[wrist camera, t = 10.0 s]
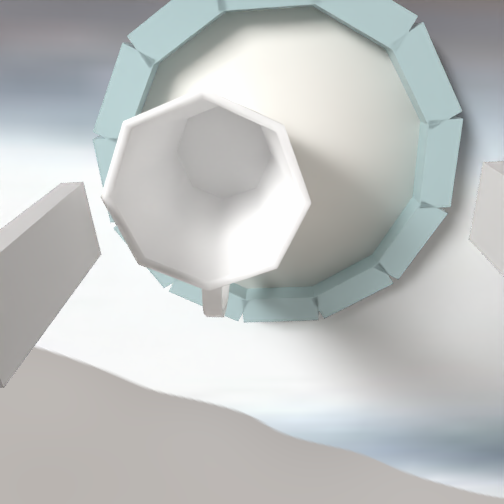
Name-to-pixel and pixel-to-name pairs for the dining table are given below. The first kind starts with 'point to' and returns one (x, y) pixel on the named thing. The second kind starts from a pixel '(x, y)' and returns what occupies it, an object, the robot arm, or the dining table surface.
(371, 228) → the saucer
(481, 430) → the dining table surface
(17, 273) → the robot arm
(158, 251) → the cup
